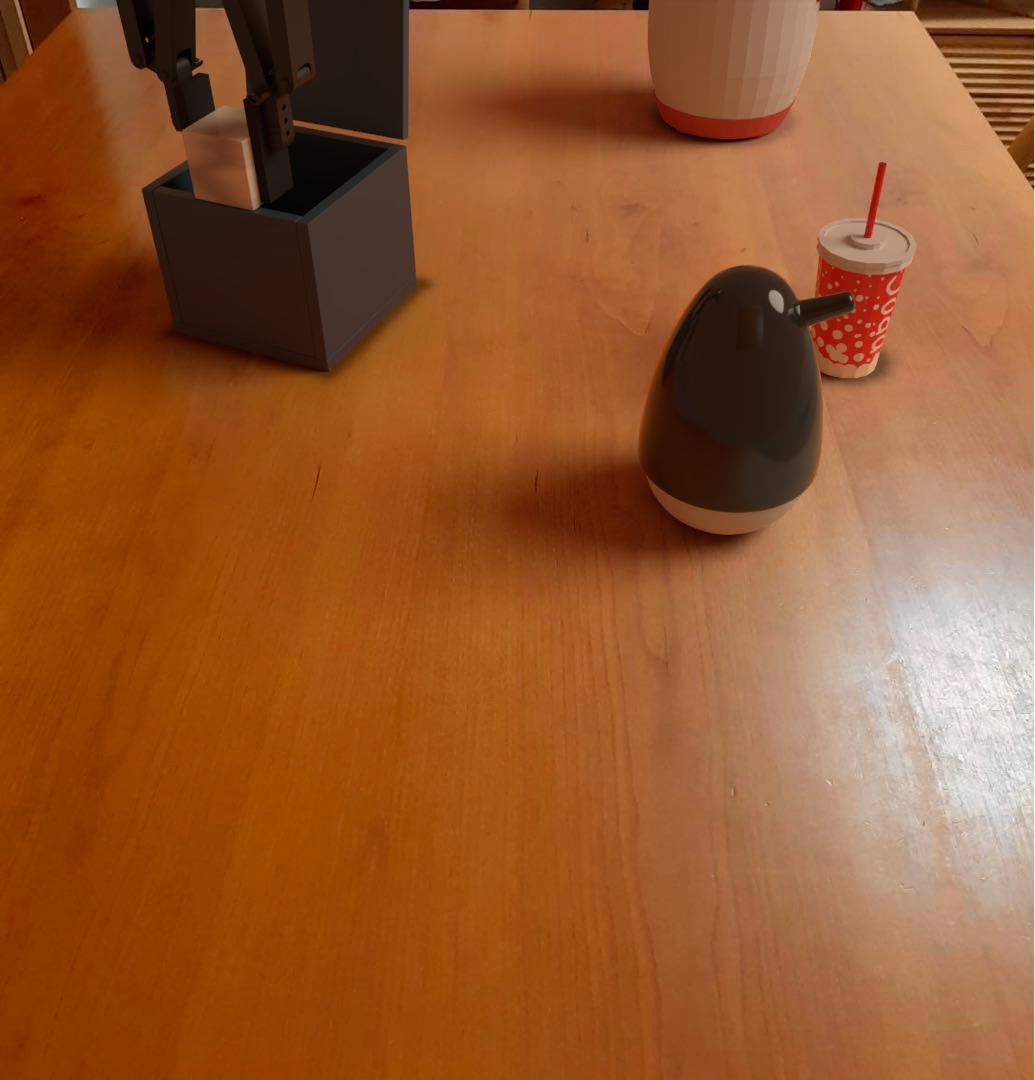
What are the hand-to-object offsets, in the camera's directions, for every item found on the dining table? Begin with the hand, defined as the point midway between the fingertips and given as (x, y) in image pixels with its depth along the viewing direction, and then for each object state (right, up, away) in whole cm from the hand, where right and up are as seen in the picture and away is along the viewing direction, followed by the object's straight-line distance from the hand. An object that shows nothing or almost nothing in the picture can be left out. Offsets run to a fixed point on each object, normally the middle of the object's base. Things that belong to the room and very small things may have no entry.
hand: (243, 186), depth 75 cm
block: (0, 0, 0) cm, 0 cm away
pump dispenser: (+30, -21, -7) cm, 37 cm away
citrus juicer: (+38, +17, +35) cm, 55 cm away
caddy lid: (+4, +12, +3) cm, 13 cm away
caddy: (+2, -6, +10) cm, 12 cm away
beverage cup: (+40, -11, +4) cm, 42 cm away
